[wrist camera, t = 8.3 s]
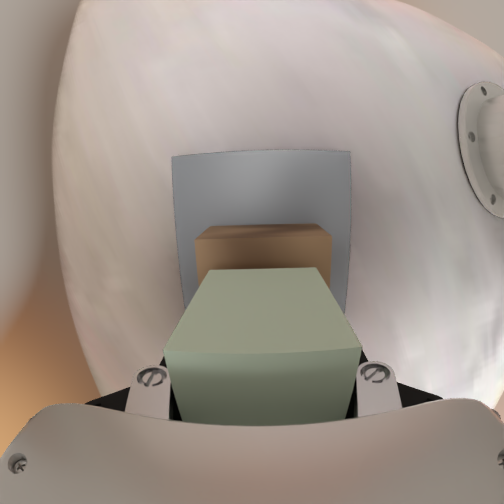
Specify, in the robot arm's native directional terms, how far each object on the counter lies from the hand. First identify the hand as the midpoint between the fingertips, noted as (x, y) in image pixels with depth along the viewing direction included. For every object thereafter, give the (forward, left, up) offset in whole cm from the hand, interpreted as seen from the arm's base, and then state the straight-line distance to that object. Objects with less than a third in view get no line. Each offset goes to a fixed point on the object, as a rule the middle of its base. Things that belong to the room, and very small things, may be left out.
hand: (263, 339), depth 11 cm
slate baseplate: (0, 0, -7) cm, 7 cm away
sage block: (0, 0, -1) cm, 1 cm away
